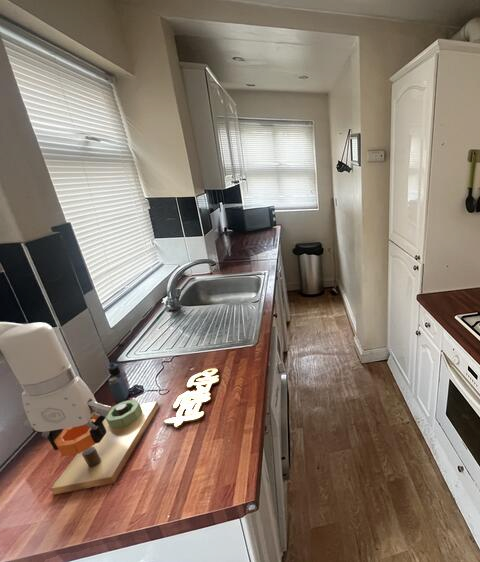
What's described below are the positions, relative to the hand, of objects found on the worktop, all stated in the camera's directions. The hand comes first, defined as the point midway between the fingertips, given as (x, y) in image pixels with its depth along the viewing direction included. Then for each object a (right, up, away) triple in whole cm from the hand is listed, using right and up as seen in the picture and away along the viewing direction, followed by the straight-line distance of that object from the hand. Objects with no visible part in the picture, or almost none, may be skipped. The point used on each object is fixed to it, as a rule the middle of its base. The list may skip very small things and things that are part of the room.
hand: (81, 440), depth 71 cm
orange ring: (0, 0, 0) cm, 0 cm away
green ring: (-2, -2, +15) cm, 16 cm away
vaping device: (-12, 0, +26) cm, 28 cm away
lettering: (+12, +1, +26) cm, 28 cm away
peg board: (-1, -6, +10) cm, 12 cm away
